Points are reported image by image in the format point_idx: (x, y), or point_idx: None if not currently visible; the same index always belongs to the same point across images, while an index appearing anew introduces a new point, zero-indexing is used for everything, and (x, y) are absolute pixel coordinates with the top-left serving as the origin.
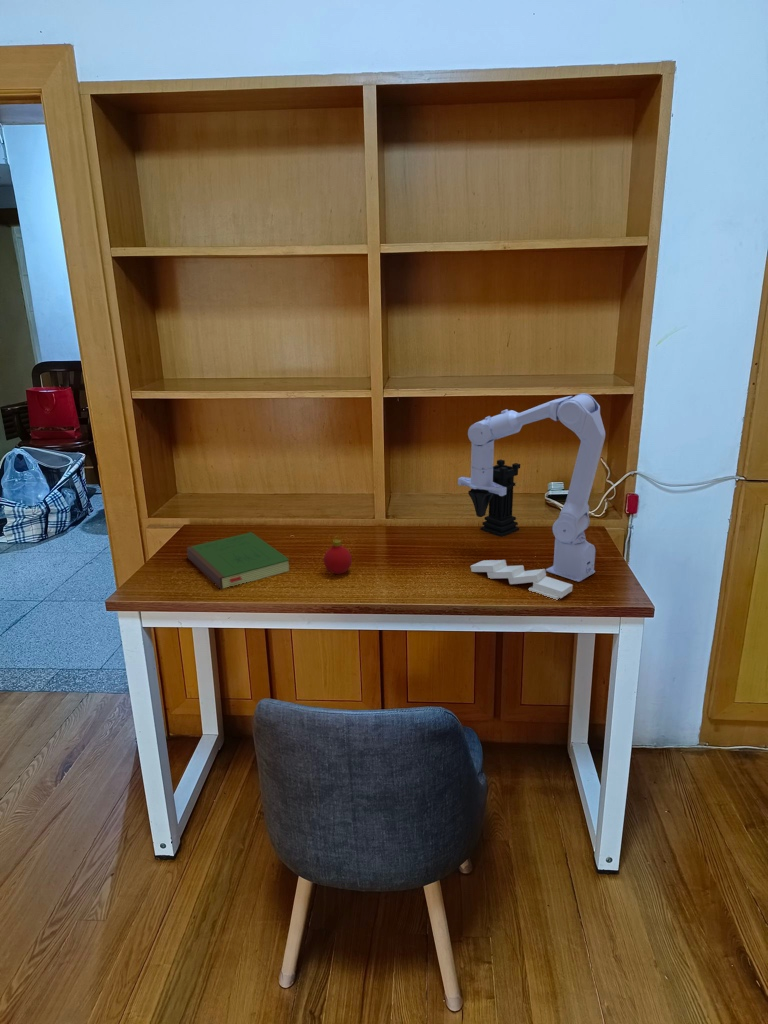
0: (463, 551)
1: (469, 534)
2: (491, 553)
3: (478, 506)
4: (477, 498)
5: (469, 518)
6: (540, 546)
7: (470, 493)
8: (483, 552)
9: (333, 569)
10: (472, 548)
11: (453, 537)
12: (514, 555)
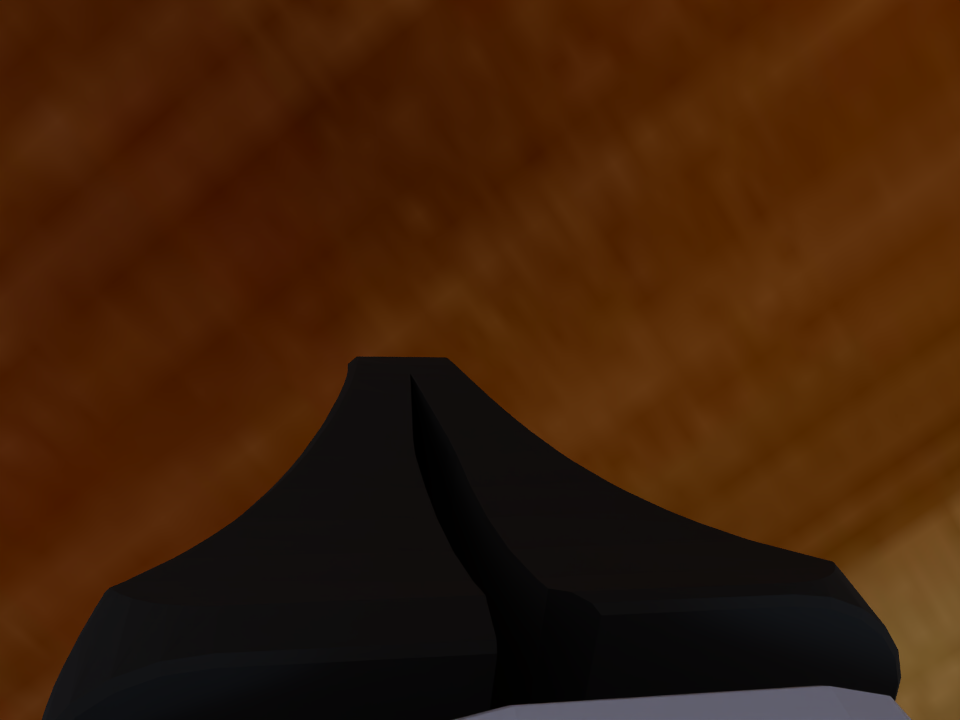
0: (515, 96)
1: (694, 481)
2: (238, 250)
3: (392, 442)
4: (407, 543)
5: None
6: (6, 668)
7: (746, 580)
8: (323, 217)
9: None
10: (483, 231)
11: (791, 335)
12: (17, 362)
